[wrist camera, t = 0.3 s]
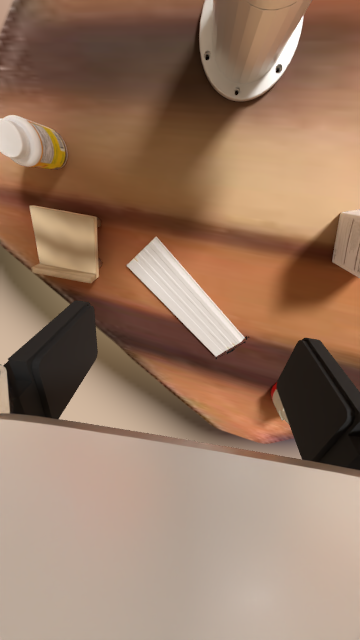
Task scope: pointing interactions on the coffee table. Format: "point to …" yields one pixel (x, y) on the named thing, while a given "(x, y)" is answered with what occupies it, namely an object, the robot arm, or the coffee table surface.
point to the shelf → (66, 244)
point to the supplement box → (348, 242)
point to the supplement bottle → (31, 143)
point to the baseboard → (184, 297)
